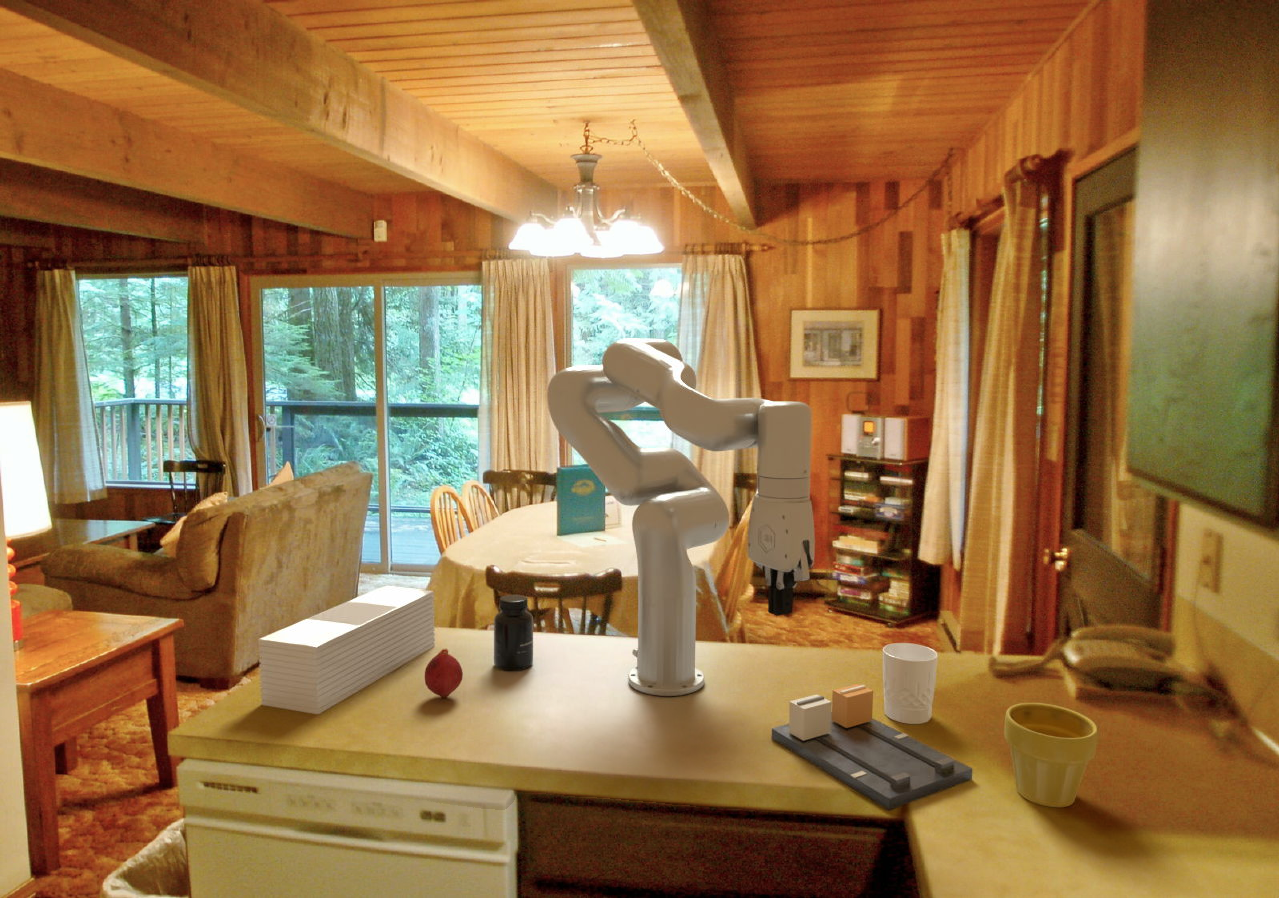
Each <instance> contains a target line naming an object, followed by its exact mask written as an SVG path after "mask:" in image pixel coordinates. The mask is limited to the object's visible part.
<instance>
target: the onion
mask: <svg viewBox="0 0 1279 898" xmlns="http://www.w3.org/2000/svg"><path fill="white" fill-rule="evenodd" d="M425 667H426V668H425V670H424V682H425V686H426V687H427V689H428V690H429V691H431V692H432V693H433V694H435V695H436V696H439V697H440V698H444V699H446V698H448V697H449V696H450V695H451V694H452V693H453V692H454V691H456V690H457V689H458V688H459V686H460V685H461V683H462V681H463V675H464V673H463V669H462V666H461V664H460V662H459V660H458V659H457V658H456V657H454V656H453V655H451V654H450V653H449V649H448V648H447V647H445V648H442V649H441V650H440V651H439V652H438V653H437V654H436V655H435V656H434V657H432V658H431V660H429V662H428V663H427V666H425Z"/></svg>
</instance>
